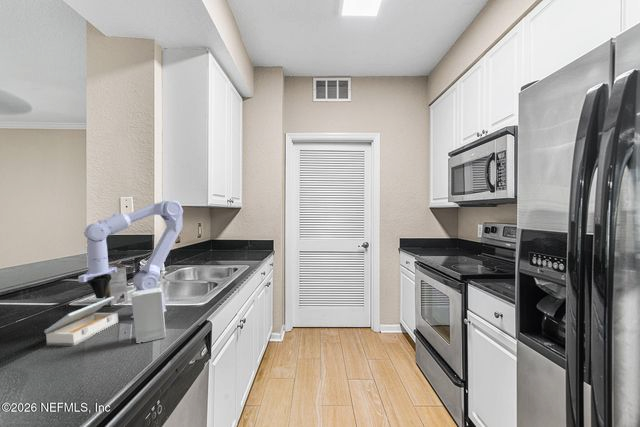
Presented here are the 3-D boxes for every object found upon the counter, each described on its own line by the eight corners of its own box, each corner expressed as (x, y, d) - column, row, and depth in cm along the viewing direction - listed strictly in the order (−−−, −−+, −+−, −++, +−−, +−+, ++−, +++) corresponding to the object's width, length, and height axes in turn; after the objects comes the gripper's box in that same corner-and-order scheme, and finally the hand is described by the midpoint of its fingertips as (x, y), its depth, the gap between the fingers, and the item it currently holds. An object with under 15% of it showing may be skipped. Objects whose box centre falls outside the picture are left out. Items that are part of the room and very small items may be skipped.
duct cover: (114, 298, 115) (113, 295, 115) (69, 316, 97) (67, 313, 97) (94, 312, 116) (92, 310, 116) (45, 333, 98) (43, 330, 98)
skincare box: (165, 331, 105) (162, 286, 104) (165, 338, 100) (162, 290, 99) (135, 337, 101) (132, 290, 101) (134, 345, 96) (131, 295, 95)
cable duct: (119, 322, 115) (118, 312, 115) (75, 345, 97) (74, 334, 97) (95, 322, 116) (94, 312, 116) (47, 345, 98) (46, 333, 98)
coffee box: (104, 302, 140) (102, 265, 139) (121, 298, 145) (119, 262, 144) (111, 306, 134) (108, 267, 133) (128, 302, 138) (125, 265, 138)
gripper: (103, 255, 119) (106, 291, 120) (68, 262, 105) (71, 304, 105) (121, 254, 118) (124, 291, 119) (88, 262, 104) (91, 304, 104)
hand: (100, 297), depth 112 cm, fingers closed
